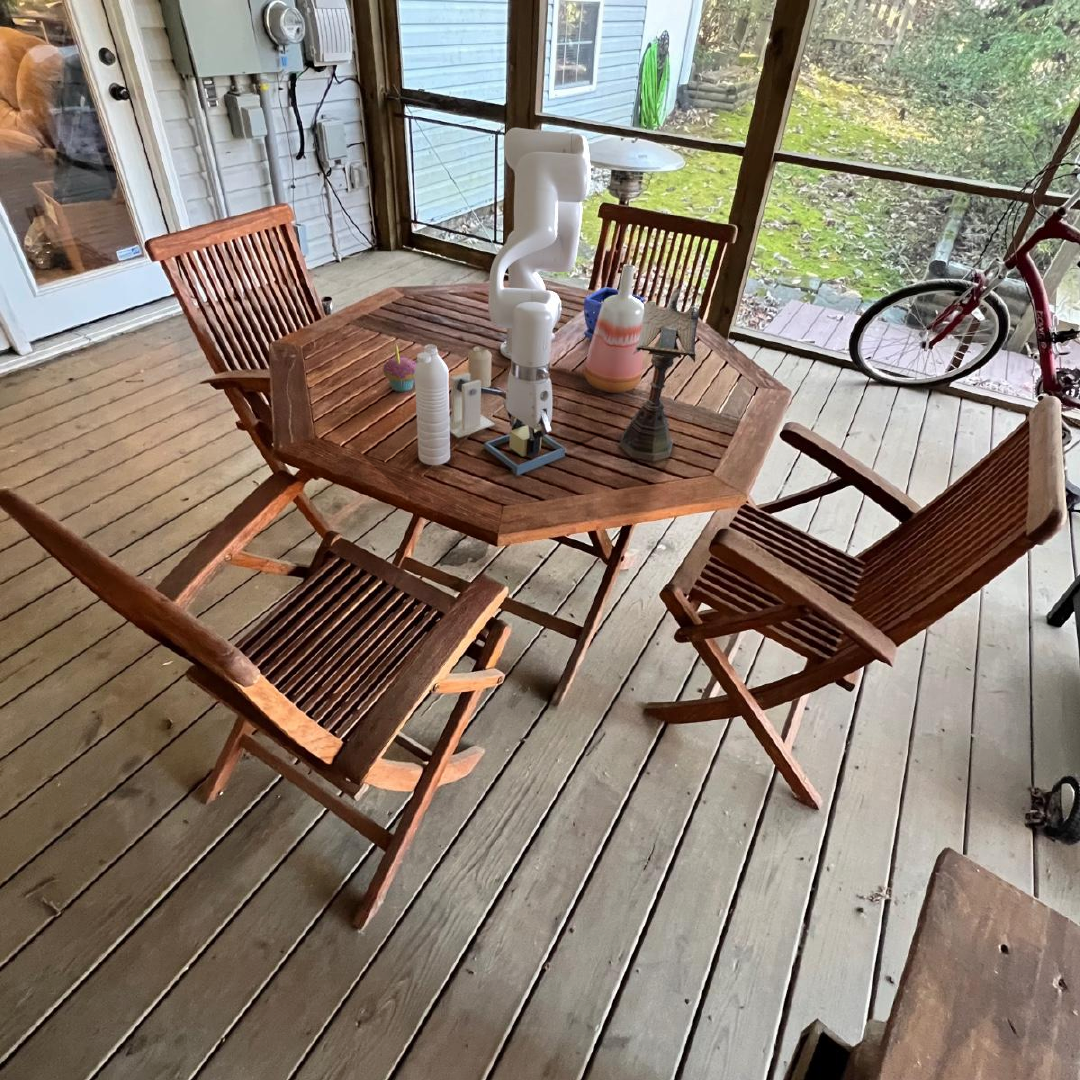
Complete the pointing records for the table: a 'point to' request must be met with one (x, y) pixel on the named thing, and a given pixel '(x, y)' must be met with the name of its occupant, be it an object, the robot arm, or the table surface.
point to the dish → (529, 464)
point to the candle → (480, 366)
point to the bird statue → (659, 376)
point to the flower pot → (598, 307)
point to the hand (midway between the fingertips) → (525, 447)
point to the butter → (520, 440)
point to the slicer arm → (484, 389)
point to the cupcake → (400, 372)
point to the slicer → (466, 407)
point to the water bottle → (432, 407)
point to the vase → (617, 341)
